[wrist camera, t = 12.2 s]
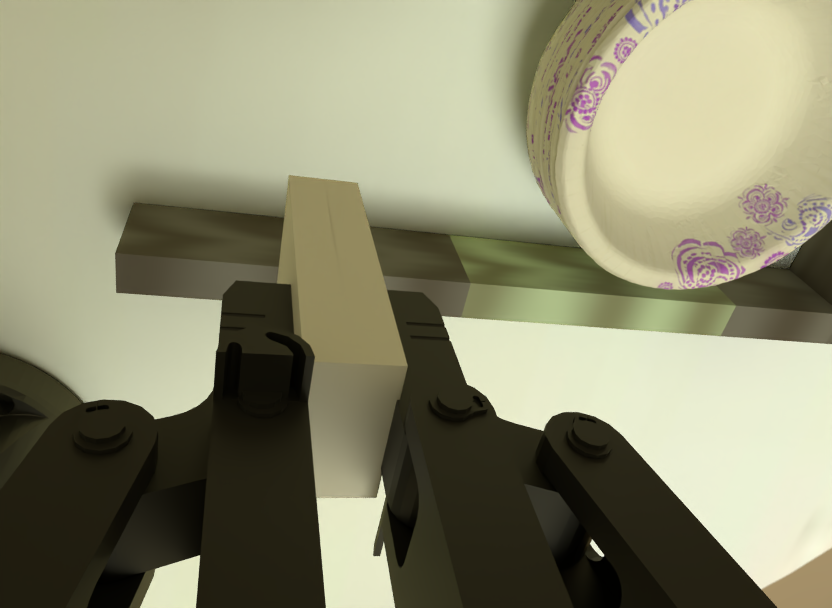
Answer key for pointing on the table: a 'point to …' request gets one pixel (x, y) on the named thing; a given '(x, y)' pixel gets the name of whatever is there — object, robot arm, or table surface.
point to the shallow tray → (484, 277)
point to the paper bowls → (686, 134)
